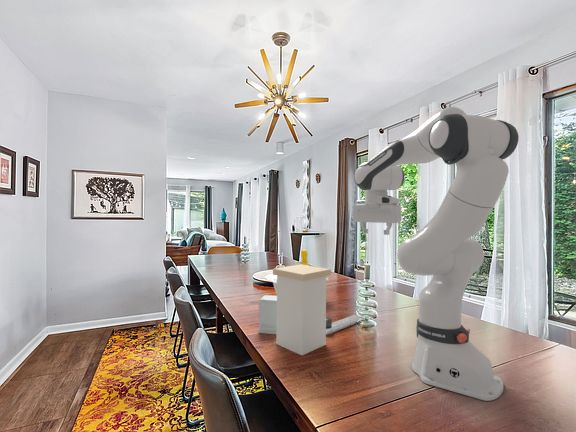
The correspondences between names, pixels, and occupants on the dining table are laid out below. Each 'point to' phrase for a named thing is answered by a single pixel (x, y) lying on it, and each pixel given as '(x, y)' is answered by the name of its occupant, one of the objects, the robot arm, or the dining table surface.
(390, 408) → the dining table surface
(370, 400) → the dining table surface
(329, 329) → the aluminium bar
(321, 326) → the pedestal
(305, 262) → the figure statuette
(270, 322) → the supplement box
